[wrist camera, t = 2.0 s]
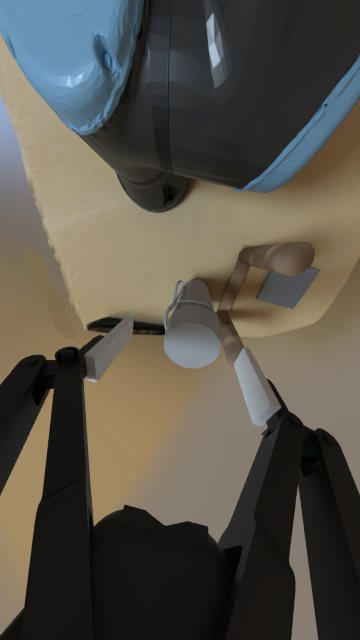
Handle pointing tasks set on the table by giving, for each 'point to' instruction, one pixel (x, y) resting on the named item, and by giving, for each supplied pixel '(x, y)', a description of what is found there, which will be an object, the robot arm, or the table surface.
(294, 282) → the pad
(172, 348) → the water bottle
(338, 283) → the table surface
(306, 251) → the gate
